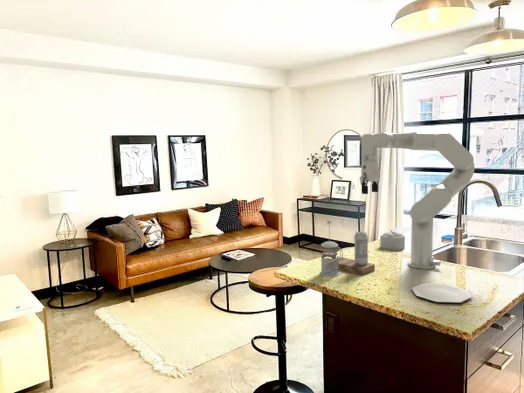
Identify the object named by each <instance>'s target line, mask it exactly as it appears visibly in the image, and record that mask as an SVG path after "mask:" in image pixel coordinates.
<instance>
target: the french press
mask: <svg viewBox="0 0 524 393" xmlns="http://www.w3.org/2000/svg"><path fill="white" fill-rule="evenodd" d="M326 224H328V232H329V233H328V236H329V237H328V241H325V242H322V243H321V244H320V246H321V247H322V248H324V249H325V248H326V249H329V250H328V251H327V250H326V251H323V252H321V257H320V258H321V260H320V261H321V264H320V265H321V271H319V275H320V276H322V277H325V278H337V277H339V276H341V273H340V271H339V269H338V263H339V262H340V261H341V260H342V258H341V260H340V261H339V262H338V260H339V259H340V257H343V255H344V254H343V249H342V248H341V247H339V244H338V243H336V242H335V241H331V238H330V237H331V235H330V234H331V232H330V229H331V228H330V224H332V221H331V220H328V221H327V220H326ZM330 249H335V250H336V251H338V250H339V254H340V255H338V252H336V251H331V250H330ZM338 257H339V259H338ZM343 258H344V257H343ZM336 260H337V261H336ZM329 263H332V264H329ZM336 263H337V265H336ZM331 266H332V267H331ZM336 266H337V267H336Z"/></svg>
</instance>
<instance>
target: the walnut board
mask: <svg viewBox="0 0 524 393" xmlns="http://www.w3.org/2000/svg"><path fill="white" fill-rule="evenodd" d="M339 257H340V259H339ZM341 258H342V260H341ZM338 259H339V260H338V262H339V261H340V260H341V261H340V262H339V263H338V271H343V272H347V273H352V274H356V275H360V276H364V275H367V274H369V273H372V272H374V271H375V269H376V266H375V264H374V263H371V262H368V263H367V264H366V265H357V264H356V263H355V259H352V258H348V257H342V256H338ZM336 261H337V260H336ZM329 264H332V263H329ZM336 265H337V263H336ZM331 267H332V266H331ZM336 267H337V266H336Z"/></svg>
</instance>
